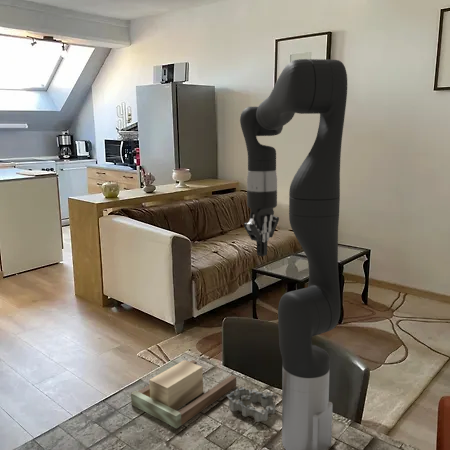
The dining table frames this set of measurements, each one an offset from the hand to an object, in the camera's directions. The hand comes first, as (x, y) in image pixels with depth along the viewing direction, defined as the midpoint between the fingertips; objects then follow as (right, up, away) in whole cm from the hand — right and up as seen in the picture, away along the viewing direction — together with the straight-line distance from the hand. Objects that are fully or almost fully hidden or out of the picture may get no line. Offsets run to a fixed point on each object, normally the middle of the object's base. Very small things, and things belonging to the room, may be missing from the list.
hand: (262, 255), depth 118 cm
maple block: (-21, -35, -7) cm, 41 cm away
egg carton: (-3, -35, -12) cm, 37 cm away
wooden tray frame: (-19, -34, -5) cm, 39 cm away
